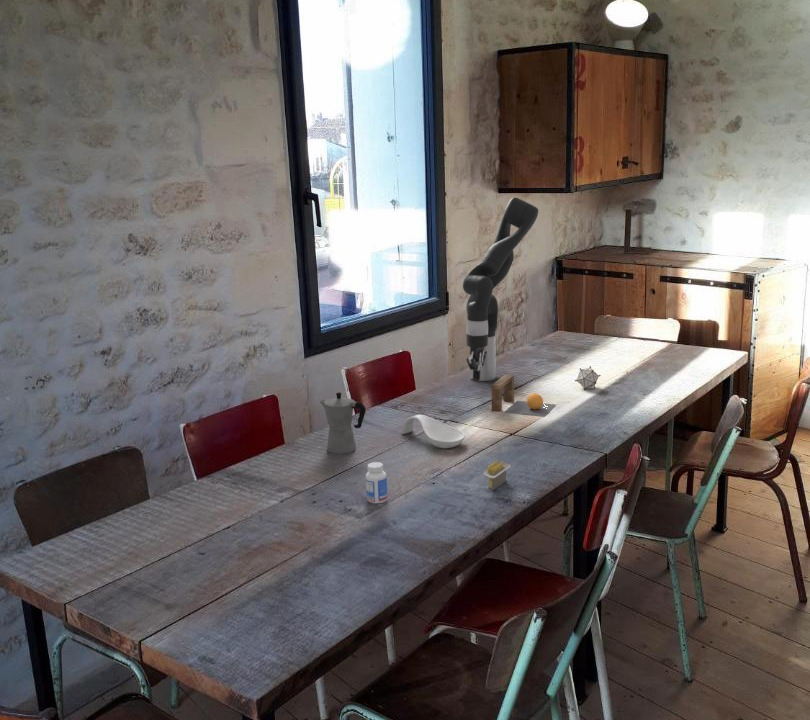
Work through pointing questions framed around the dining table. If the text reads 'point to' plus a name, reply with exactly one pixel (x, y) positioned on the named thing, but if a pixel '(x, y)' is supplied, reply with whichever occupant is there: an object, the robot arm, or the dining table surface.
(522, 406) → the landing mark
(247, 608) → the dining table surface
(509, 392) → the bridge
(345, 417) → the coffeepot
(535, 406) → the ball
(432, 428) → the spoon rest
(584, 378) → the game die
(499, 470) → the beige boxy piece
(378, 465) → the pill bottle
